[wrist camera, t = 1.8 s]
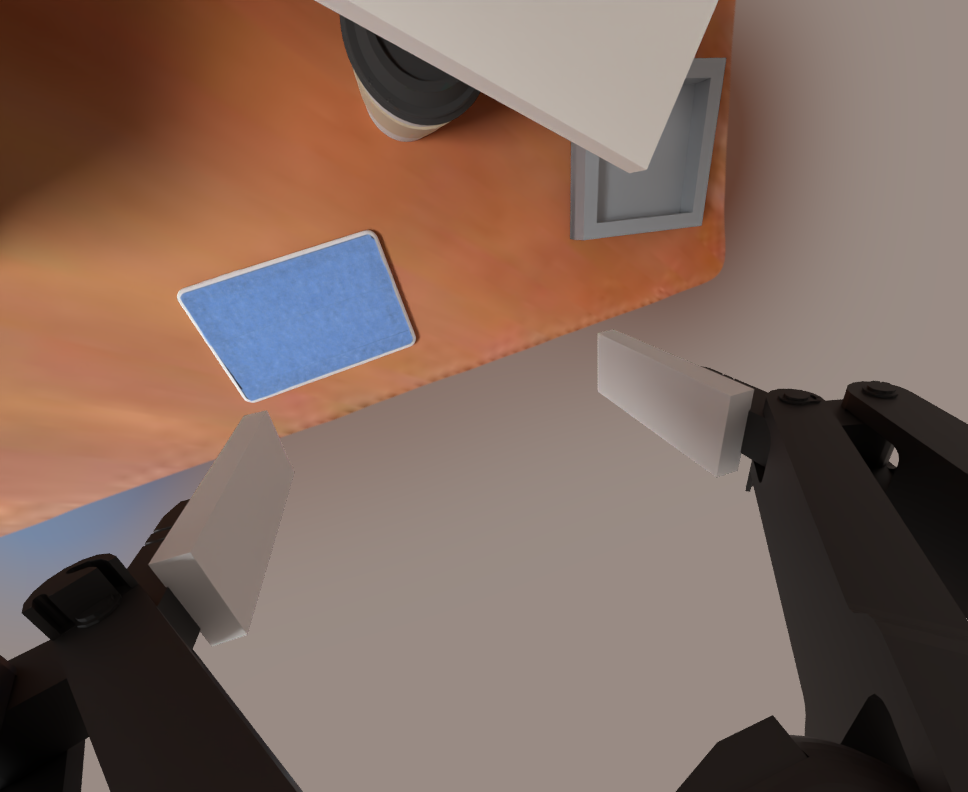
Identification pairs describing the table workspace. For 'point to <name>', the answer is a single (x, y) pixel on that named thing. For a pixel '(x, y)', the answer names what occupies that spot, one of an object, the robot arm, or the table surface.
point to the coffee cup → (402, 86)
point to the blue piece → (301, 315)
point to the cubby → (557, 59)
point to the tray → (653, 169)
